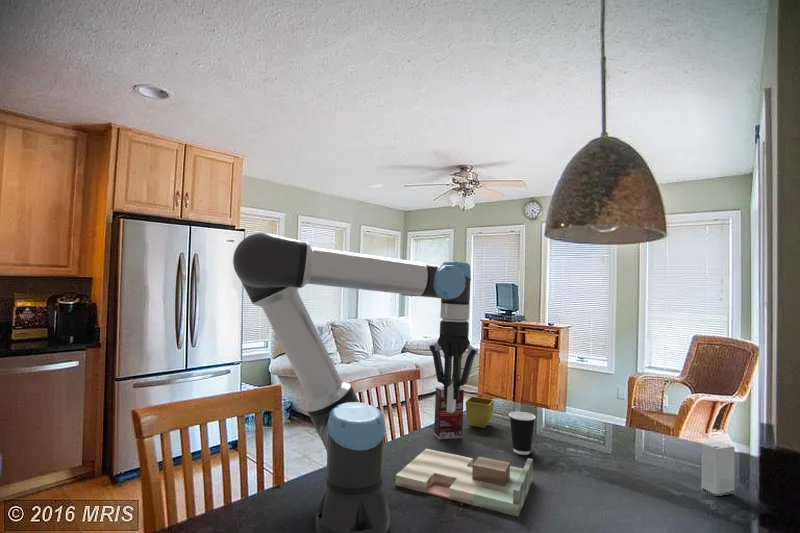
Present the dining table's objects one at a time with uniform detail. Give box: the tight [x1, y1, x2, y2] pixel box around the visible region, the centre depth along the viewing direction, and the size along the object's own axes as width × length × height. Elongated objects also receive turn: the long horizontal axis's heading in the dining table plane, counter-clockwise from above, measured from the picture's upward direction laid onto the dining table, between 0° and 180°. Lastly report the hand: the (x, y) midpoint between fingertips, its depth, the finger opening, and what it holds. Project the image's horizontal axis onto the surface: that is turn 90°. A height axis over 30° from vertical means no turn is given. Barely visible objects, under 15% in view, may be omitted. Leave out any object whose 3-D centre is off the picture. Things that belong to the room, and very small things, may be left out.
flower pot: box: [465, 396, 495, 429], centre depth 156 cm, size 9×9×9 cm
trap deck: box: [395, 448, 534, 517], centre depth 109 cm, size 20×30×6 cm, turn 64°
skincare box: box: [701, 441, 736, 494], centre depth 108 cm, size 6×4×12 cm
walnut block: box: [472, 456, 511, 487], centre depth 107 cm, size 6×8×4 cm
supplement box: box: [433, 386, 465, 440], centre depth 143 cm, size 9×5×16 cm, turn 105°
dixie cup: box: [508, 411, 537, 456], centre depth 132 cm, size 8×8×11 cm
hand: (451, 411), depth 112 cm, fingers closed
